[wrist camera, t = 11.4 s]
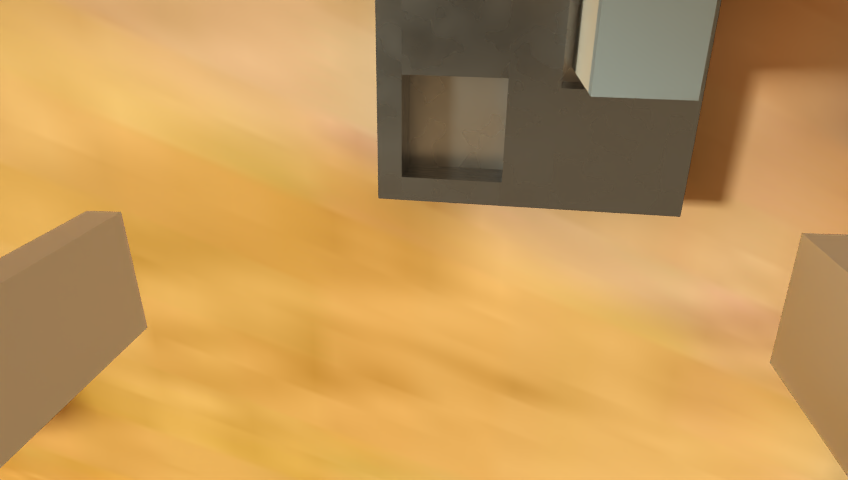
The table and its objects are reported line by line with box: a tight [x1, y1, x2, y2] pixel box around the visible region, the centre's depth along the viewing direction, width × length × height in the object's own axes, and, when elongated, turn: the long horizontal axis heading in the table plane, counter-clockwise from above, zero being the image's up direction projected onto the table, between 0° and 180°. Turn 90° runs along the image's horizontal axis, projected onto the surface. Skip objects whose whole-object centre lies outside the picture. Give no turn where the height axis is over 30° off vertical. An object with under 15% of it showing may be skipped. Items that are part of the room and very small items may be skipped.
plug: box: [573, 0, 717, 101], centre depth 27 cm, size 4×4×9 cm
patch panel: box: [375, 0, 721, 217], centre depth 31 cm, size 16×13×3 cm
